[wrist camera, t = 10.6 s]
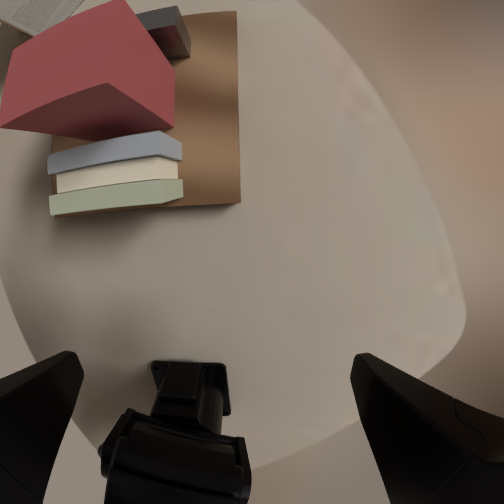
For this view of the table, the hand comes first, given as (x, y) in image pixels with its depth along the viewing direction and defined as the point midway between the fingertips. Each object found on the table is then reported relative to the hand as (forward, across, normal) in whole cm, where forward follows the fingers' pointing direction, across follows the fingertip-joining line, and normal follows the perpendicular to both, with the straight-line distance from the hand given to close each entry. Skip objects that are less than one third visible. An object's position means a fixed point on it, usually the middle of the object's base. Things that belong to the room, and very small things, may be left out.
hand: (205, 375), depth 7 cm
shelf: (+12, +6, -11) cm, 17 cm away
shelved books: (+11, +6, -6) cm, 14 cm away
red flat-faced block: (+10, +6, -11) cm, 16 cm away
